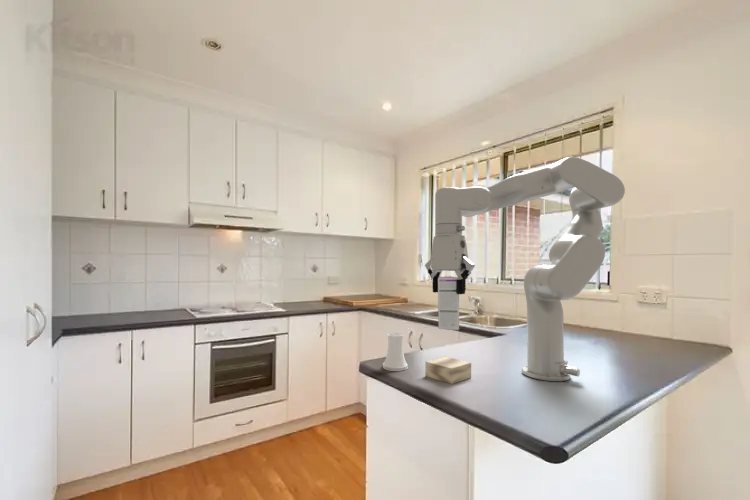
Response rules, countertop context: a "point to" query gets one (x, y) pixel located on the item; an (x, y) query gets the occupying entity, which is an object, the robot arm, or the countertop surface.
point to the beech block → (448, 369)
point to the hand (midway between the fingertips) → (448, 292)
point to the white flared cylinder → (395, 353)
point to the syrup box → (448, 304)
